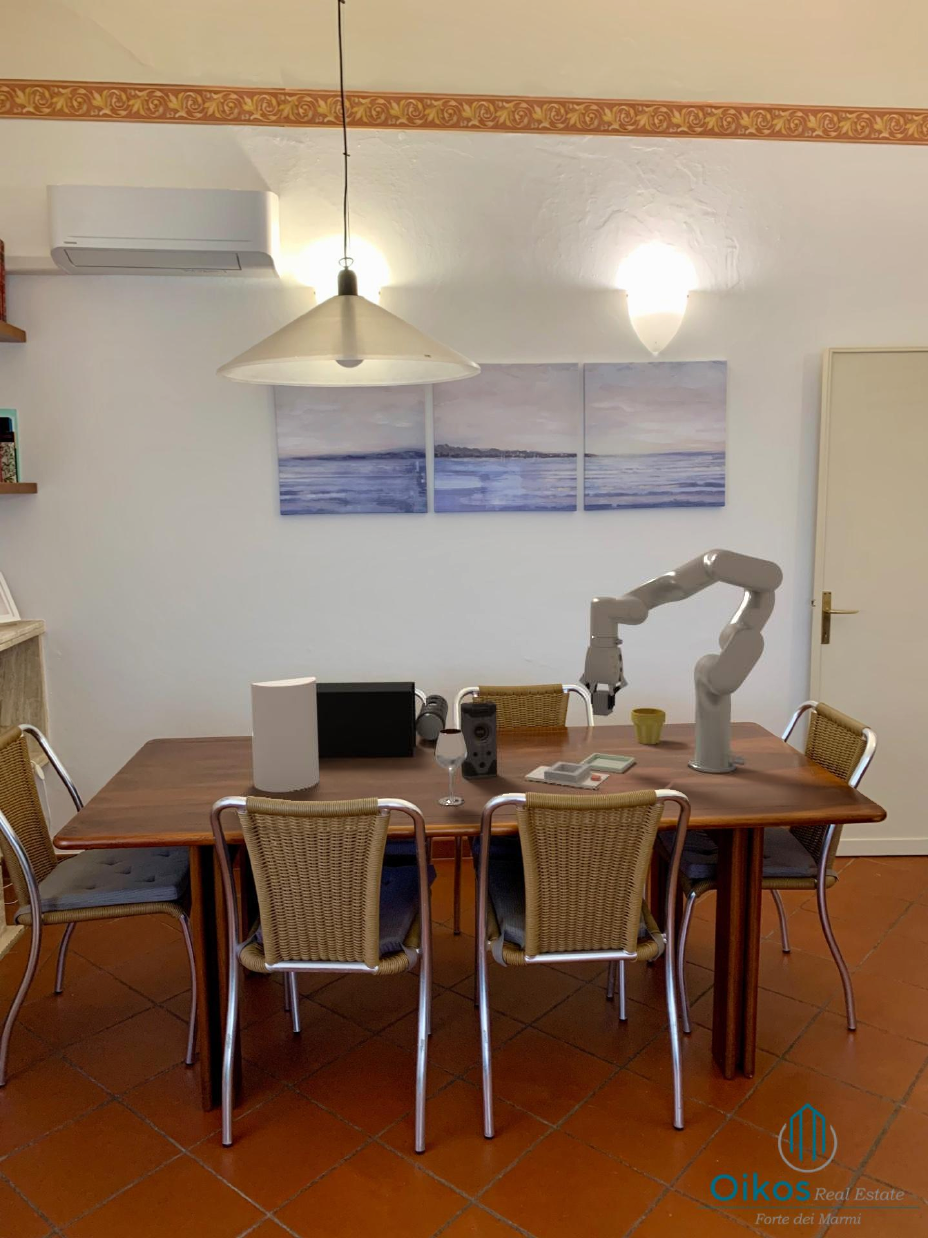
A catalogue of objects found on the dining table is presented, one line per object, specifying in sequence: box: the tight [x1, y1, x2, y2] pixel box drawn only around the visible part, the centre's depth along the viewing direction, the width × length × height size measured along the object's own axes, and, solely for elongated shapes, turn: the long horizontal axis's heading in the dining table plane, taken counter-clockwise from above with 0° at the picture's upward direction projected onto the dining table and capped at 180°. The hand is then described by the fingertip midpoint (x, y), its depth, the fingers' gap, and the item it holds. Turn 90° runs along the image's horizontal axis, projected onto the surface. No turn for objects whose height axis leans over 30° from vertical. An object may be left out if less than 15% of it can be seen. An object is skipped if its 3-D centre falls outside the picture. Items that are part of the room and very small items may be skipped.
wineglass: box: [433, 728, 467, 806], centre depth 226 cm, size 8×8×18 cm
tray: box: [578, 752, 636, 774], centre depth 255 cm, size 12×12×2 cm
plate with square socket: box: [524, 761, 611, 789], centre depth 244 cm, size 20×11×3 cm, turn 62°
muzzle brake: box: [416, 694, 449, 741], centre depth 296 cm, size 10×28×10 cm, turn 178°
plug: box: [592, 689, 614, 717], centre depth 252 cm, size 4×5×6 cm
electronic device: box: [460, 700, 498, 780], centre depth 248 cm, size 9×6×20 cm, turn 105°
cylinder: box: [250, 676, 320, 793], centre depth 244 cm, size 17×17×28 cm
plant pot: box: [630, 707, 666, 745], centre depth 281 cm, size 10×10×10 cm
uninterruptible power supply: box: [316, 681, 417, 759], centre depth 274 cm, size 16×34×20 cm, turn 89°
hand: (602, 707), depth 252 cm, fingers closed on plug, 3 cm apart
